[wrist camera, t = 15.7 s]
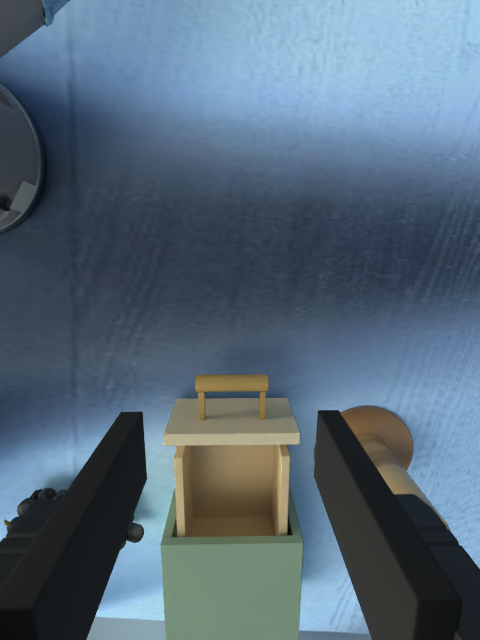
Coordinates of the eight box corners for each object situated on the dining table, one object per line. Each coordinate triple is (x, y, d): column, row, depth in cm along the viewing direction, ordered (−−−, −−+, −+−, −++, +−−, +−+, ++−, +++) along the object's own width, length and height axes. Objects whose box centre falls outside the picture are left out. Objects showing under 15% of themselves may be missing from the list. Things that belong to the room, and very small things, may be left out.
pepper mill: (343, 434, 39) (420, 561, 23) (388, 433, 39) (494, 559, 23) (340, 473, 40) (411, 620, 24) (384, 473, 40) (482, 619, 24)
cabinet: (176, 478, 40) (160, 545, 31) (287, 477, 41) (303, 543, 32) (181, 588, 44) (167, 676, 35) (283, 586, 44) (296, 673, 35)
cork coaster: (316, 406, 39) (317, 408, 38) (416, 405, 39) (419, 407, 39) (311, 493, 41) (312, 496, 41) (405, 492, 42) (407, 495, 41)
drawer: (175, 359, 36) (161, 387, 29) (288, 359, 37) (302, 386, 29) (181, 515, 41) (170, 573, 33) (283, 513, 41) (293, 570, 34)
